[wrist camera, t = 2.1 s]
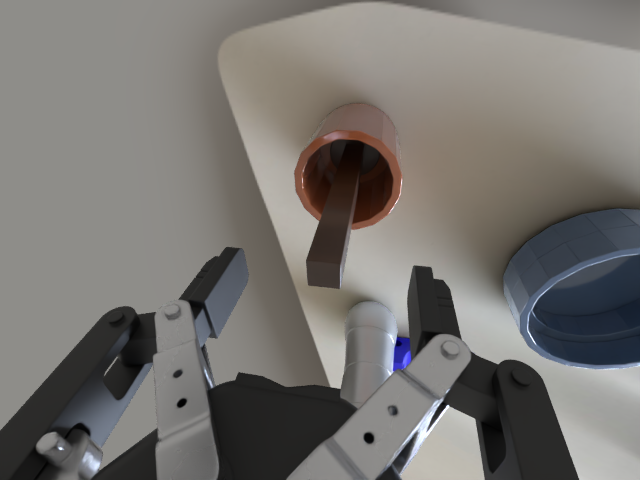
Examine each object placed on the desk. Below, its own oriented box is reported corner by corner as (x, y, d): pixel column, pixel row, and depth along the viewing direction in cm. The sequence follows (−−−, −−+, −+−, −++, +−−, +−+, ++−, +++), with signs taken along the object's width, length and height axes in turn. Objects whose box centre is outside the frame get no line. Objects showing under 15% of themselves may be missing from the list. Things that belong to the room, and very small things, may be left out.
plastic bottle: (377, 287, 38) (369, 484, 22) (407, 319, 40) (419, 518, 24) (336, 305, 41) (304, 488, 25) (366, 334, 43) (353, 518, 27)
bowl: (532, 199, 28) (561, 237, 23) (734, 211, 26) (813, 256, 21) (484, 313, 37) (498, 356, 32) (629, 329, 35) (668, 379, 30)
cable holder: (389, 351, 45) (389, 377, 41) (390, 336, 43) (390, 362, 39) (447, 358, 43) (451, 385, 40) (451, 342, 41) (456, 370, 38)
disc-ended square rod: (331, 123, 27) (272, 231, 13) (382, 124, 26) (375, 240, 13) (331, 171, 29) (282, 302, 16) (378, 173, 29) (368, 312, 15)
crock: (314, 102, 27) (290, 128, 20) (404, 103, 25) (409, 132, 19) (316, 183, 31) (298, 225, 25) (393, 187, 30) (394, 233, 23)
